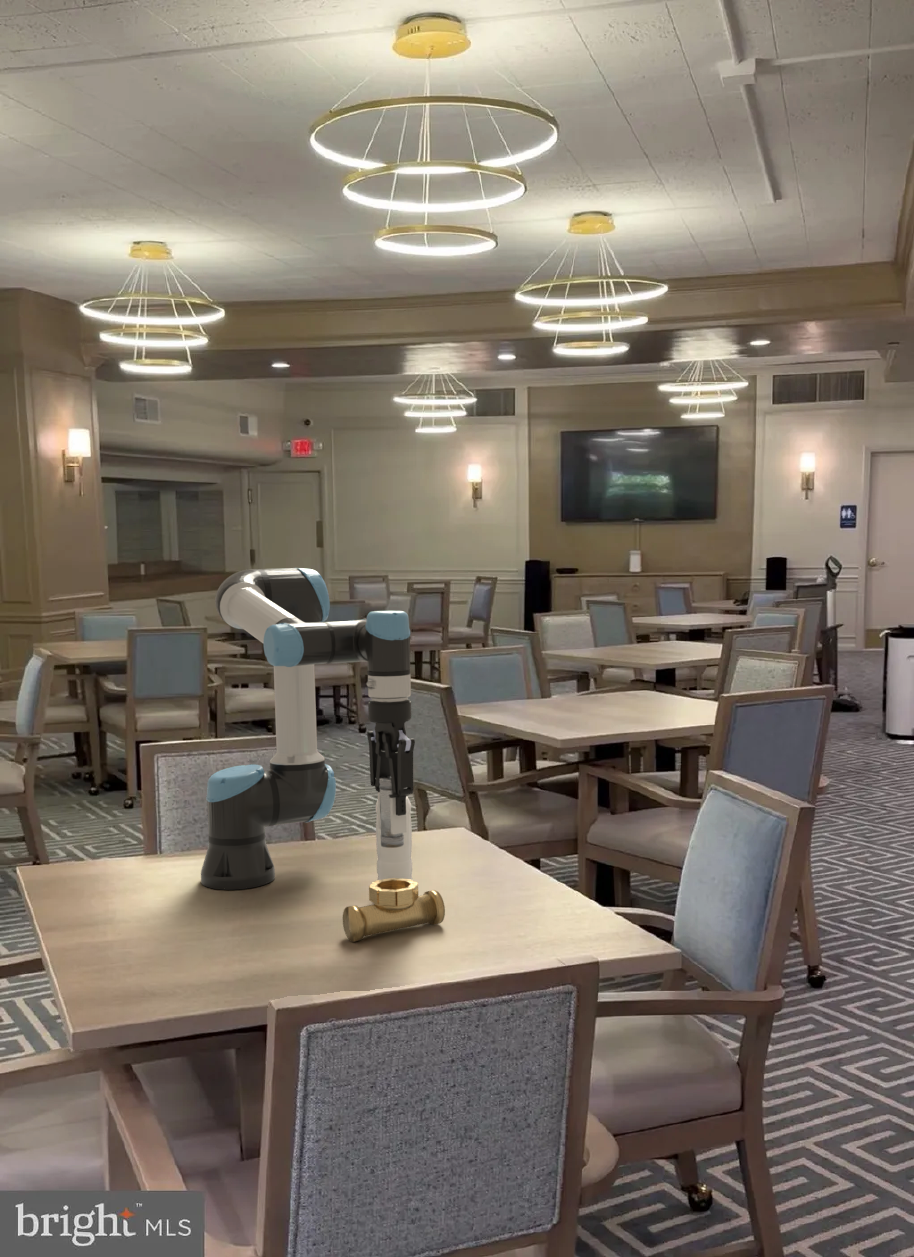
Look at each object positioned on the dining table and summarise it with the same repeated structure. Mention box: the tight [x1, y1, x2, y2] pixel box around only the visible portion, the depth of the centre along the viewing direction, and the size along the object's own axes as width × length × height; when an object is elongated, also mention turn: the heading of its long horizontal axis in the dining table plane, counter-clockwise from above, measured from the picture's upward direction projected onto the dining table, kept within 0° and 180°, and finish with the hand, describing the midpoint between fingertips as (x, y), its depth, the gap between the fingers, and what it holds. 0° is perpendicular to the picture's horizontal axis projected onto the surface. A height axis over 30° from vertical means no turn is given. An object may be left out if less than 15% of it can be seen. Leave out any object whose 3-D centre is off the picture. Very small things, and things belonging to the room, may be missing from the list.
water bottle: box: [375, 795, 413, 881], centre depth 224 cm, size 7×7×25 cm
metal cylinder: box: [379, 776, 404, 848], centre depth 200 cm, size 4×4×12 cm
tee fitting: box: [342, 878, 446, 943], centre depth 202 cm, size 17×8×8 cm, turn 122°
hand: (392, 830), depth 201 cm, fingers closed on metal cylinder, 4 cm apart
